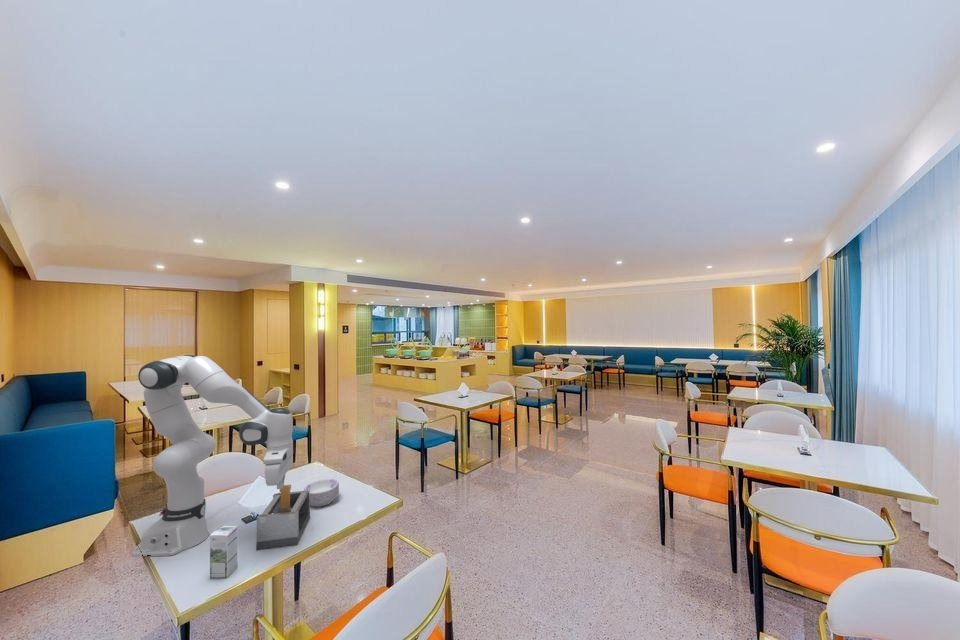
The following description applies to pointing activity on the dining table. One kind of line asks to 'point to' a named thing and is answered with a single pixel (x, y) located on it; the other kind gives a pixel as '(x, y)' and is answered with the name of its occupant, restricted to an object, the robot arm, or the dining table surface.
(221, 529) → the syrup box
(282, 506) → the lever
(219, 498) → the dining table surface
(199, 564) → the dining table surface
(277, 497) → the grey storage bin
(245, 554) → the dining table surface
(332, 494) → the paper bowls
